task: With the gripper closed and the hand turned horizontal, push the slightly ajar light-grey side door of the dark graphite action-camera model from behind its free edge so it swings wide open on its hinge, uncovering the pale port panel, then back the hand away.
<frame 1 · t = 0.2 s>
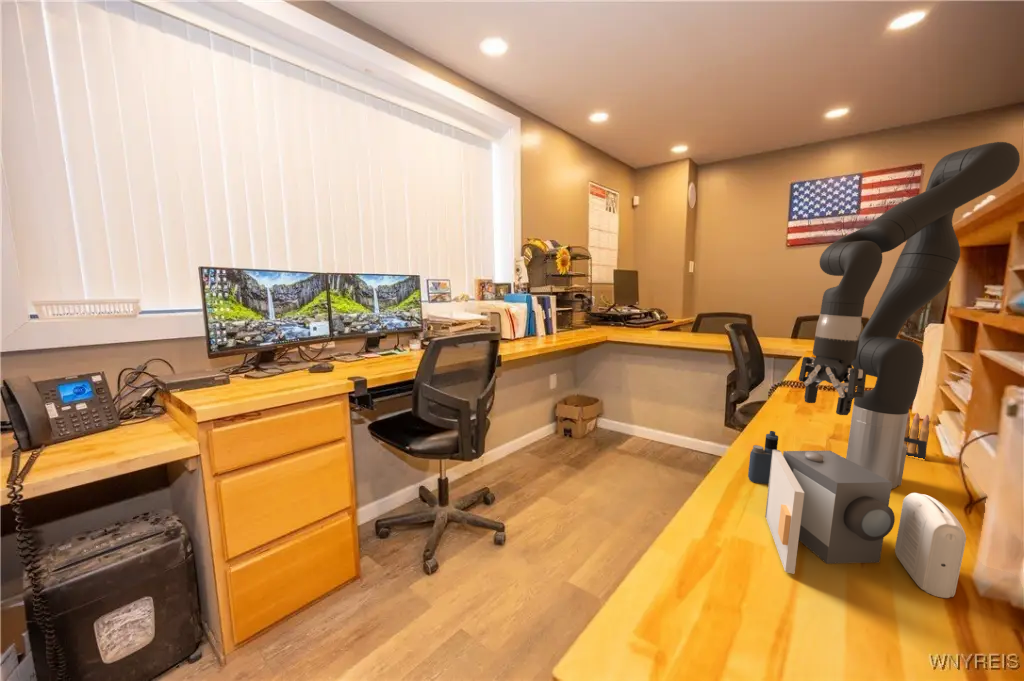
hand: (825, 408, 90), 18 cm above the table, tool pointing down, fingers open, 8 cm apart
ammunition clip: (896, 453, 108), on the table
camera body: (823, 539, 72), on the table
vaping device: (760, 481, 93), on the table
side door: (780, 505, 70), point 7 cm above the table, hinge at 25.0°
photo printer: (921, 576, 63), on the table
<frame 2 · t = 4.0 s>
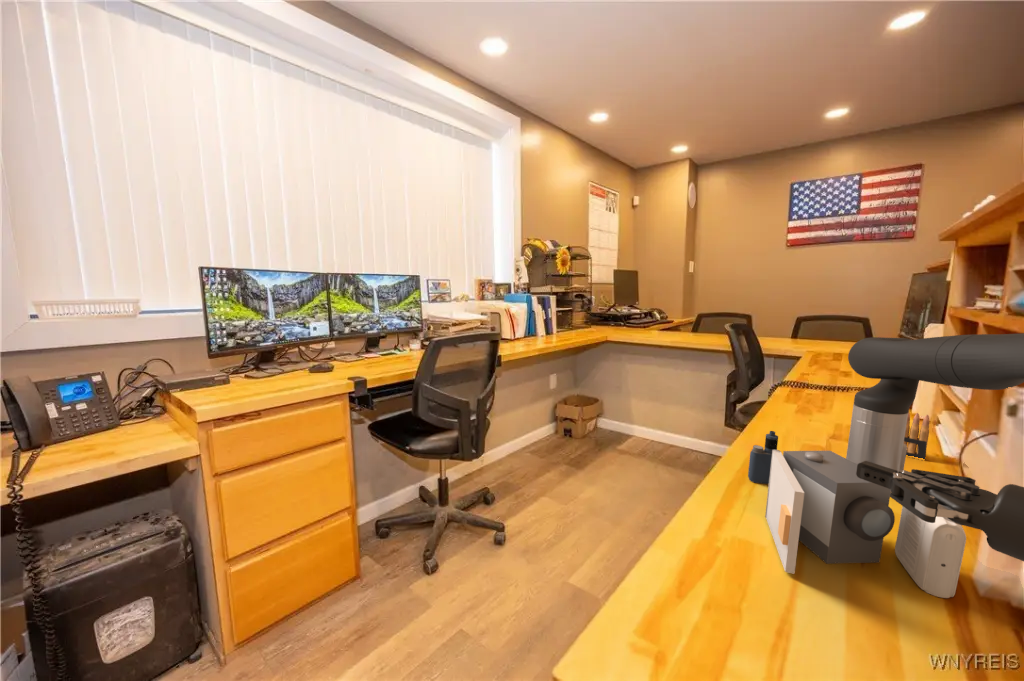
hand: (859, 468, 56), 20 cm above the table, tool horizontal, fingers closed
nothing on the table moved.
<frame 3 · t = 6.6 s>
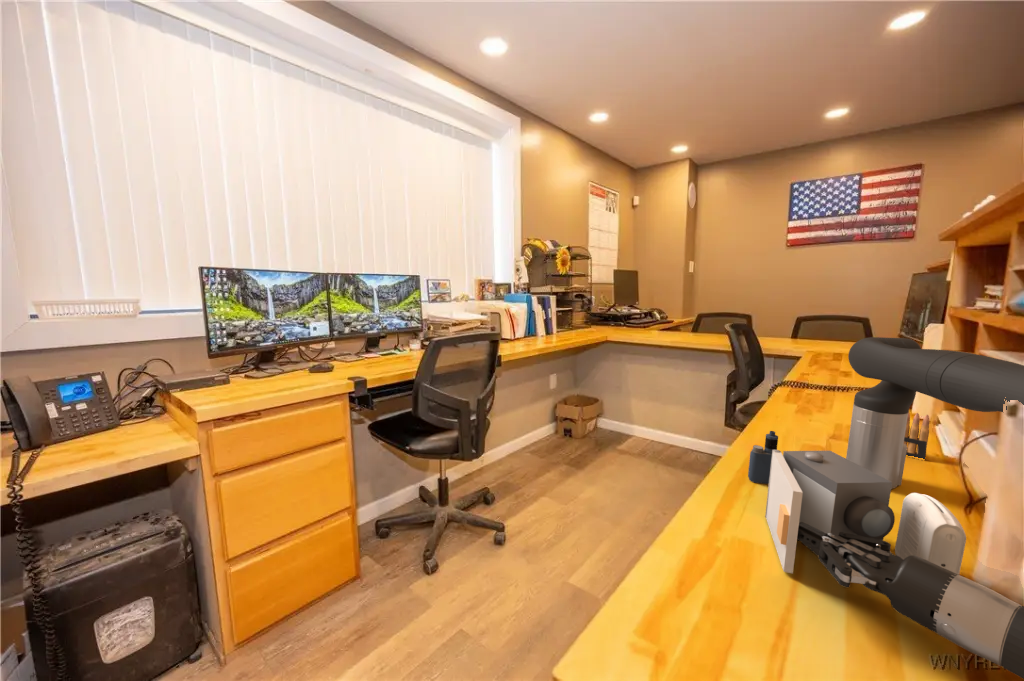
hand: (796, 528, 64), 7 cm above the table, tool horizontal, fingers closed
side door: (779, 504, 70), point 7 cm above the table, hinge at 25.8°, touching gripper
everything else where it was.
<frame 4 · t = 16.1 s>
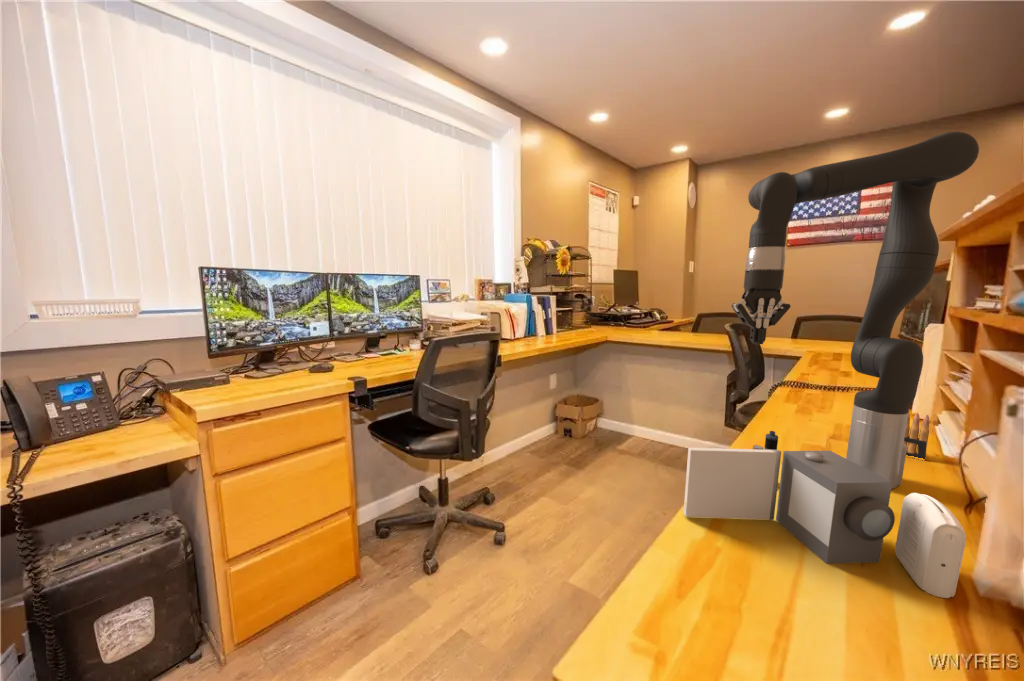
hand: (757, 343, 94), 31 cm above the table, tool pointing down, fingers closed
side door: (731, 482, 77), point 7 cm above the table, hinge at 95.0°
everything else where it was.
at the end: side door at +95° (first picture: +25°) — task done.
